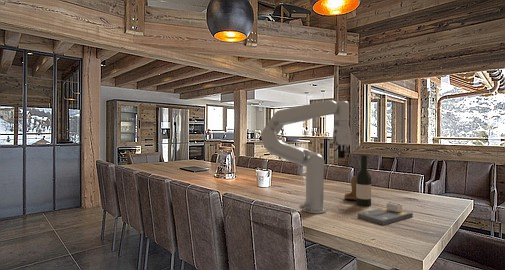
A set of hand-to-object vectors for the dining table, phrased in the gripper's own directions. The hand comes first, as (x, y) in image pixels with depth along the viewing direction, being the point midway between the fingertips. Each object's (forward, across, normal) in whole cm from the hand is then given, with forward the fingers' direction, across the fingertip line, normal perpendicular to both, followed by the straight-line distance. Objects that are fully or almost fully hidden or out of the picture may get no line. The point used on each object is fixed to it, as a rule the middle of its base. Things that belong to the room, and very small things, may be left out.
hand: (341, 157), depth 162 cm
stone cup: (+29, +30, +13) cm, 44 cm away
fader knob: (+27, +18, -20) cm, 38 cm away
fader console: (+29, +10, -20) cm, 37 cm away
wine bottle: (+29, +22, +2) cm, 37 cm away
